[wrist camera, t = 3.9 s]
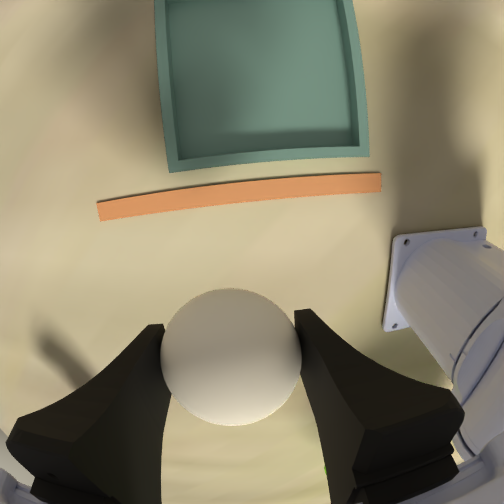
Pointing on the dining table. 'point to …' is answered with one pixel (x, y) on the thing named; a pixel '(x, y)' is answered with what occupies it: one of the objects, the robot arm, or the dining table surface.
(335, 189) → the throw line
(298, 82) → the tray
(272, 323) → the ball
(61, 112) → the dining table surface
